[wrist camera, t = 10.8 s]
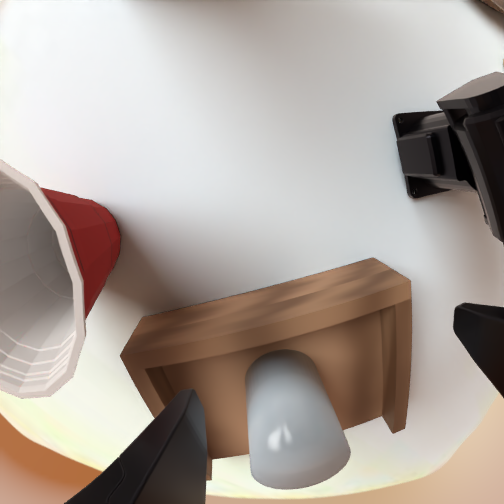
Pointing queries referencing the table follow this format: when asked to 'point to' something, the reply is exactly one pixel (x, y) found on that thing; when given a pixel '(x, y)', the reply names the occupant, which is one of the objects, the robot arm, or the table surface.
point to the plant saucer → (495, 4)
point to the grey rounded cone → (291, 423)
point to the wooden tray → (283, 337)
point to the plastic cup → (48, 280)
